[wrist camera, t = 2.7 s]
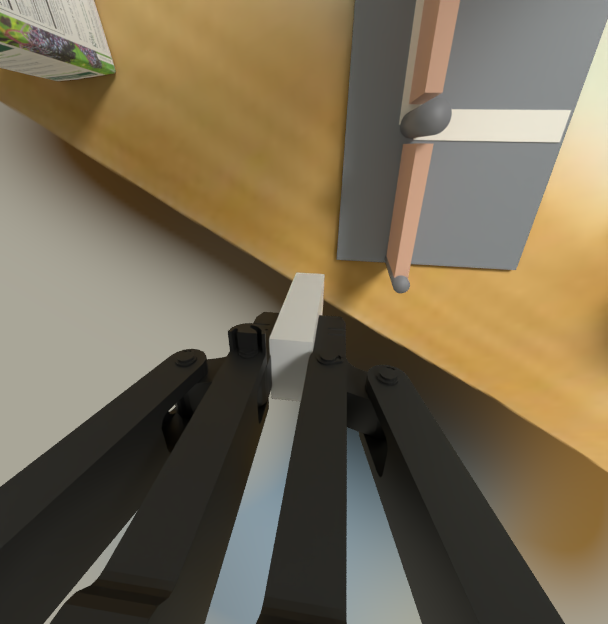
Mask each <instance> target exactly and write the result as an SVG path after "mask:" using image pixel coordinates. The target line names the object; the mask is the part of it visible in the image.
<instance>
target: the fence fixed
mask: <svg viewBox="0 0 608 624" xmlns="http://www.w3.org/2000/svg"><path fill="white" fill-rule="evenodd" d="M459 4H460V0H424V6H423V12H422V19H421V26H420V33H419V39H418V46H417V53H416V59H415V66H414V73H413V79H412V86H411V93H410V100H409V104H422V105H420V106H419V107H417V108H415V109H413V110H412V111H410V112H408V113H407V114H406V115H405V116H404V117H403V119H402V121H401V124H400V130H401V133H402V135H403V136H404V137H406V138H417V137H424V136H432V135H436V134H439V133H441V132H442V131H443V130H444V129H445V128H446V127H447V126H448V124H449V122H450V120H451V116H452V110H451V106H450V104H449V103H448V101H447V100H445V99H443V98H434V97H436V96H438V95H439V94H441V93H443V88H444V83H445V77H446V72H447V67H448V62H449V56H450V51H451V46H452V41H453V35H454V30H455V25H456V20H457V14H458V9H459Z"/></svg>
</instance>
